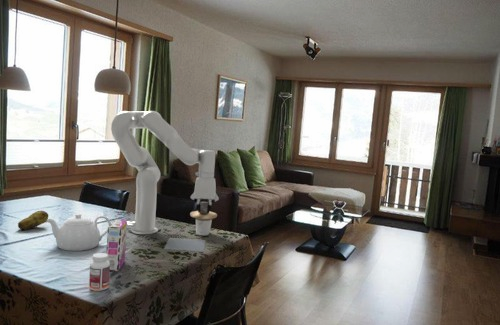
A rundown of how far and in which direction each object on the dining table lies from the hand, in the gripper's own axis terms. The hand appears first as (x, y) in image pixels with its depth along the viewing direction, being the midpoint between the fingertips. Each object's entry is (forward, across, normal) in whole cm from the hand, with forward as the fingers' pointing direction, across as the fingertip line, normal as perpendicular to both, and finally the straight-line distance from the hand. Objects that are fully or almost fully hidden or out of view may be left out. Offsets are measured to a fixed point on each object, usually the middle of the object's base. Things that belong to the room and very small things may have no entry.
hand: (203, 211), depth 205 cm
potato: (+11, -78, -7) cm, 79 cm away
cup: (+12, 0, 0) cm, 12 cm away
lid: (+2, 0, 0) cm, 2 cm away
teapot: (+12, -50, -27) cm, 58 cm away
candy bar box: (+12, -29, -48) cm, 57 cm away
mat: (+12, -6, -18) cm, 22 cm away
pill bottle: (+12, -29, -68) cm, 75 cm away
